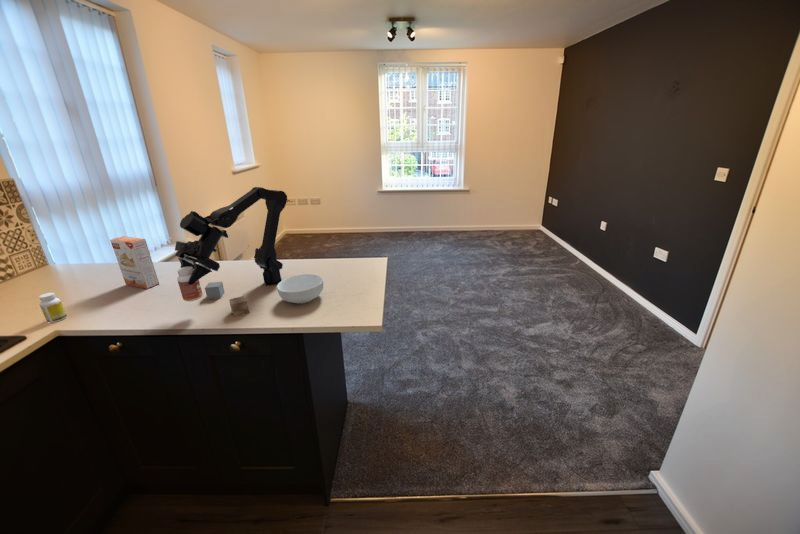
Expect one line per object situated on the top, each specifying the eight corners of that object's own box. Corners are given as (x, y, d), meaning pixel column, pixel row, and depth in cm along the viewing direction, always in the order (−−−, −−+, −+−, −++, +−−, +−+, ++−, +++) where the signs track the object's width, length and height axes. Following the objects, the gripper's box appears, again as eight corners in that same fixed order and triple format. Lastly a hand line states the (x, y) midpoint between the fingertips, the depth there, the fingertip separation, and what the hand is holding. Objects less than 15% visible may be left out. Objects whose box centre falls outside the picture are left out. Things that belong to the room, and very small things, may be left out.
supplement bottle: (71, 315, 130) (61, 290, 126) (59, 322, 125) (49, 297, 121) (55, 316, 129) (44, 292, 125) (43, 324, 124) (31, 298, 120)
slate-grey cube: (224, 292, 144) (222, 281, 142) (221, 298, 139) (218, 286, 137) (211, 294, 143) (208, 282, 141) (207, 299, 138) (204, 287, 137)
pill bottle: (204, 298, 124) (196, 269, 119) (184, 303, 120) (175, 273, 116) (202, 292, 128) (194, 264, 124) (182, 297, 125) (174, 268, 121)
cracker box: (124, 285, 154) (108, 239, 146) (138, 280, 159) (124, 235, 152) (146, 289, 149) (130, 242, 141) (160, 284, 154) (145, 238, 146)
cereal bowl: (310, 286, 147) (308, 270, 144) (333, 298, 136) (331, 281, 133) (271, 299, 136) (268, 283, 133) (293, 314, 125) (290, 296, 122)
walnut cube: (246, 307, 131) (243, 295, 129) (249, 313, 127) (247, 300, 125) (231, 311, 128) (229, 299, 126) (234, 317, 124) (231, 304, 122)
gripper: (173, 227, 124) (148, 267, 119) (202, 234, 114) (176, 278, 110) (201, 243, 133) (179, 280, 128) (230, 250, 123) (207, 291, 118)
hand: (184, 282), depth 121 cm, fingers closed on pill bottle, 6 cm apart
